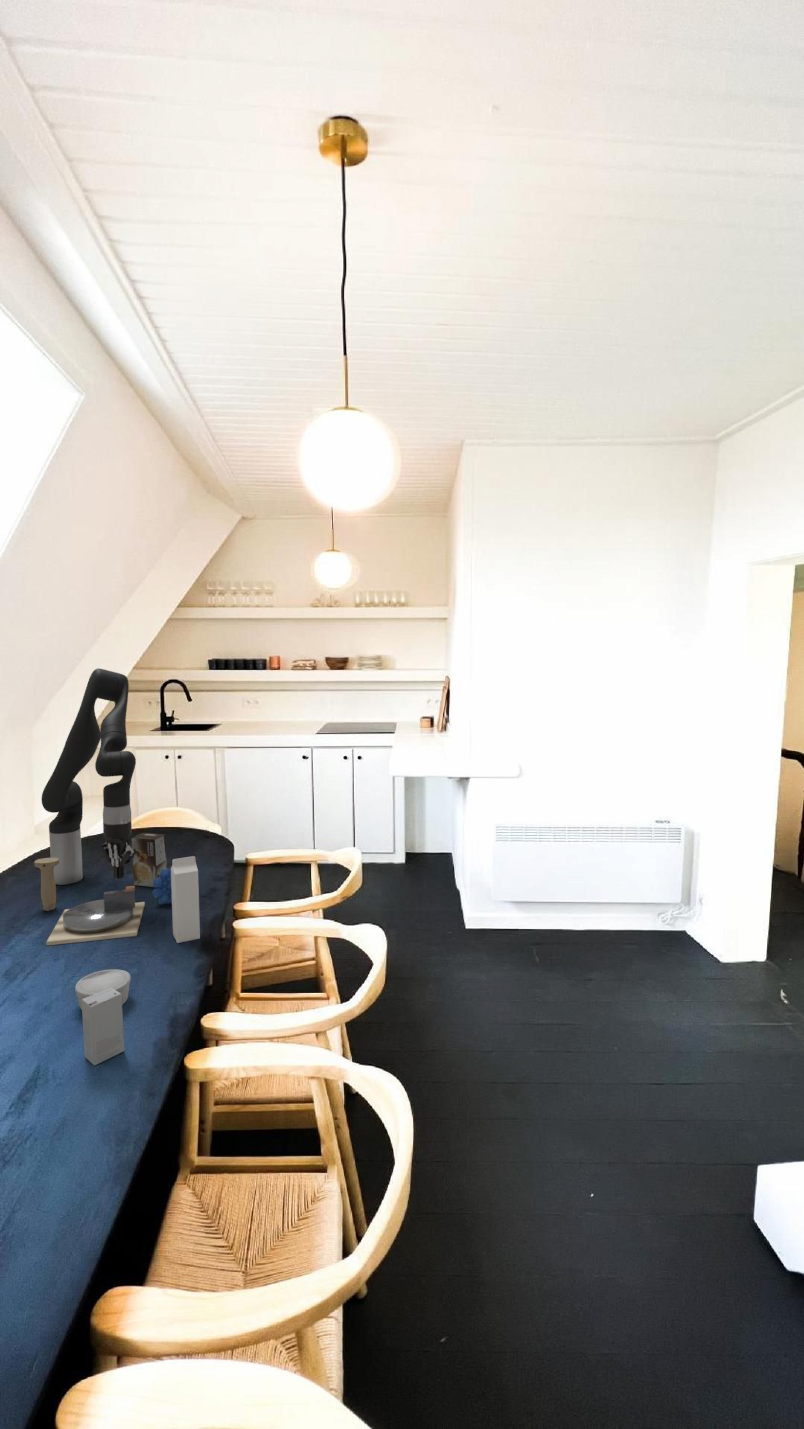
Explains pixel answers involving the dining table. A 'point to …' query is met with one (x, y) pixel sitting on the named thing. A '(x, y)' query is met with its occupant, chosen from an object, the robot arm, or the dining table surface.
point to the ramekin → (103, 984)
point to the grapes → (163, 887)
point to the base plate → (126, 930)
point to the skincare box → (103, 1025)
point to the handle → (47, 882)
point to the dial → (101, 912)
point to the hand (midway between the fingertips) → (118, 877)
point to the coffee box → (148, 858)
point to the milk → (185, 899)
